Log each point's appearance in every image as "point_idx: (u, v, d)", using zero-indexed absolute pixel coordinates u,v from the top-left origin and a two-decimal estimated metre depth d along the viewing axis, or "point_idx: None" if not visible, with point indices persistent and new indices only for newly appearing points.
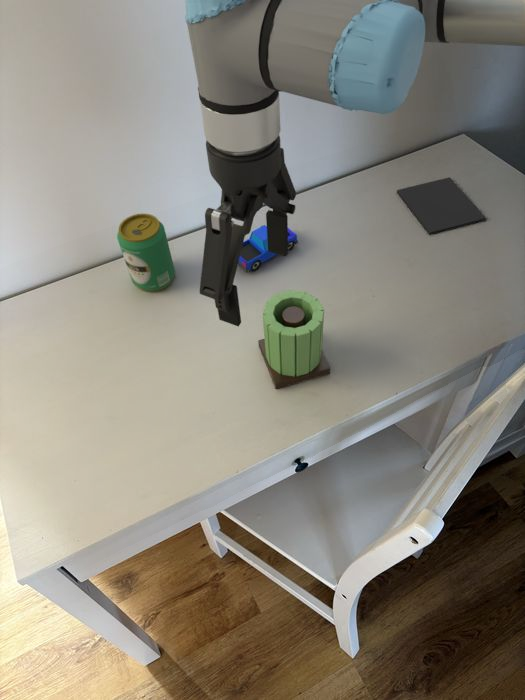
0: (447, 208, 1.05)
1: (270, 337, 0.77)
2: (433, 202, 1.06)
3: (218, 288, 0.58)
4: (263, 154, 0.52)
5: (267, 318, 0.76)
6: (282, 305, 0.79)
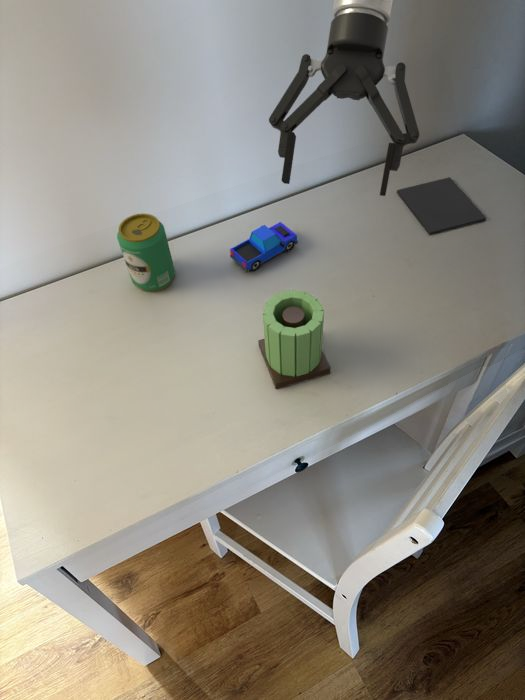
0: (447, 208, 1.05)
1: (270, 337, 0.77)
2: (433, 202, 1.06)
3: None
4: (346, 13, 0.68)
5: (267, 318, 0.76)
6: (282, 305, 0.79)
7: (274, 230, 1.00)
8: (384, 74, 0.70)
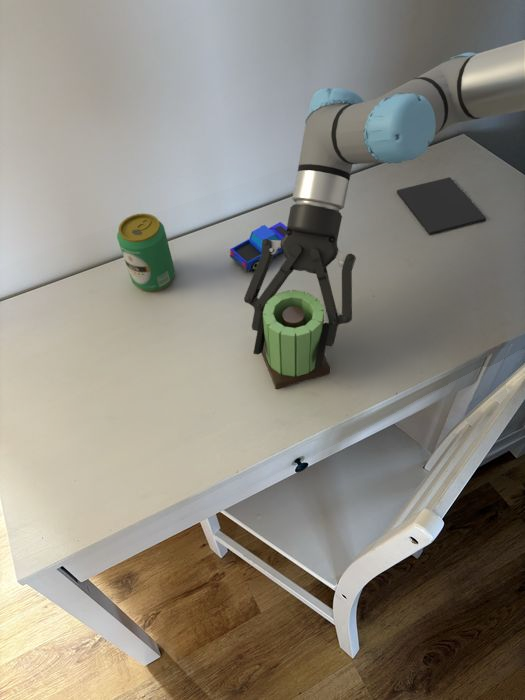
0: (447, 208, 1.05)
1: (270, 337, 0.77)
2: (433, 202, 1.06)
3: (247, 291, 0.80)
4: (301, 205, 0.74)
5: (267, 318, 0.76)
6: (282, 305, 0.79)
7: (274, 230, 1.00)
8: (336, 257, 0.77)
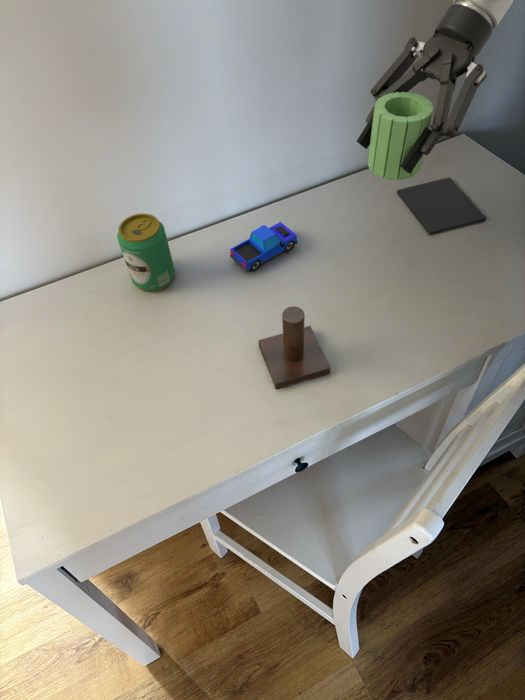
0: (447, 208, 1.05)
1: (374, 122, 0.83)
2: (433, 202, 1.06)
3: (376, 83, 0.86)
4: (455, 4, 0.77)
5: (378, 103, 0.82)
6: (400, 104, 0.84)
7: (274, 230, 1.00)
8: (467, 68, 0.78)
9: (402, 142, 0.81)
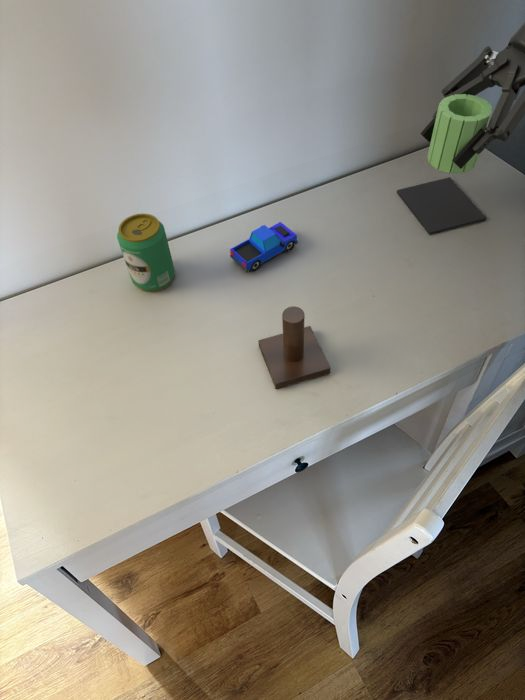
0: (447, 208, 1.05)
1: (436, 118, 0.93)
2: (433, 202, 1.06)
3: (448, 84, 0.95)
4: None
5: (443, 101, 0.92)
6: (465, 105, 0.93)
7: (274, 230, 1.00)
8: None
9: (457, 139, 0.91)
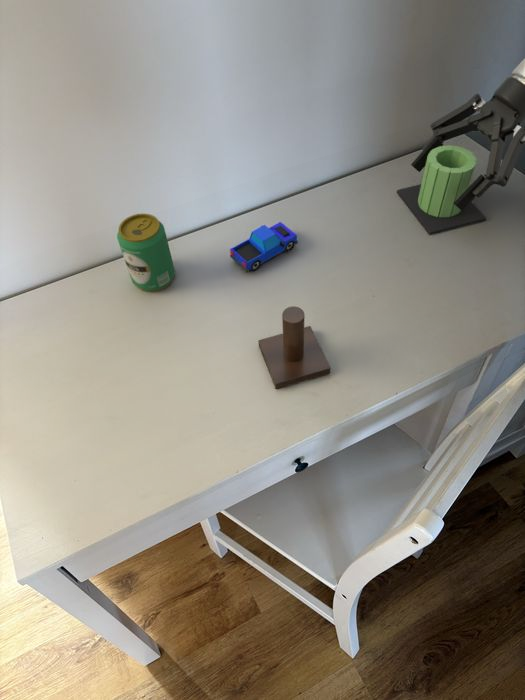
0: None
1: (425, 167, 1.00)
2: None
3: (437, 120, 1.03)
4: (511, 77, 0.92)
5: (432, 152, 1.00)
6: (451, 155, 1.01)
7: (274, 230, 1.00)
8: (513, 130, 0.93)
9: (444, 187, 0.98)
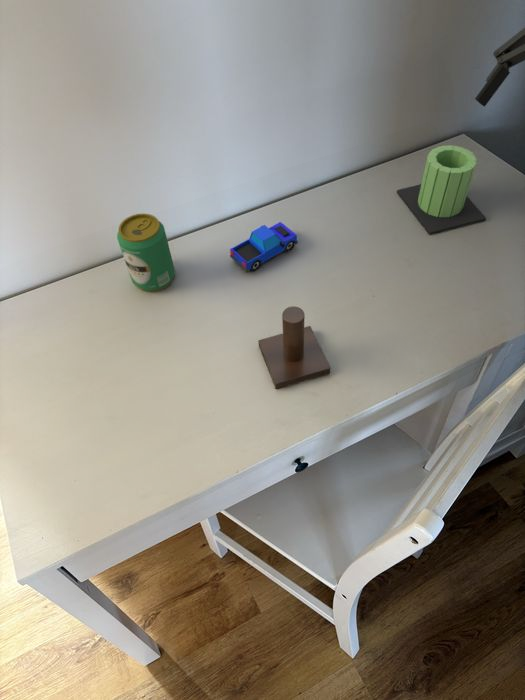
0: None
1: (425, 167, 1.00)
2: None
3: (501, 46, 0.95)
4: None
5: (432, 152, 1.00)
6: (451, 155, 1.01)
7: (274, 230, 1.00)
8: None
9: (444, 187, 0.98)
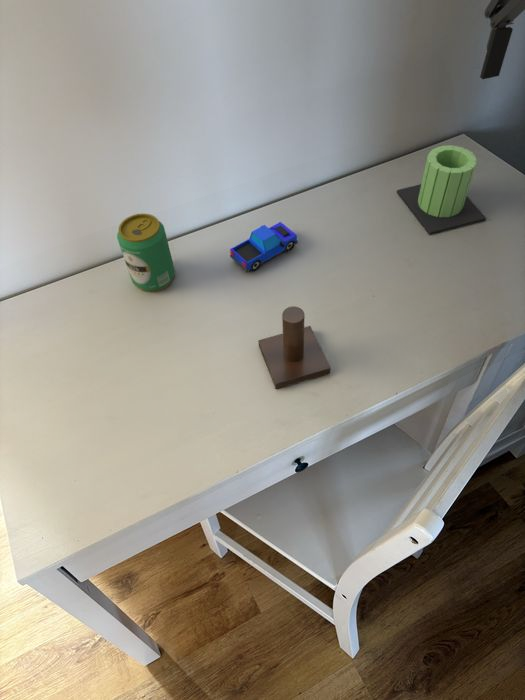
0: None
1: (425, 167, 1.00)
2: None
3: (490, 3, 0.74)
4: None
5: (432, 152, 1.00)
6: (451, 155, 1.01)
7: (274, 230, 1.00)
8: None
9: (444, 187, 0.98)
